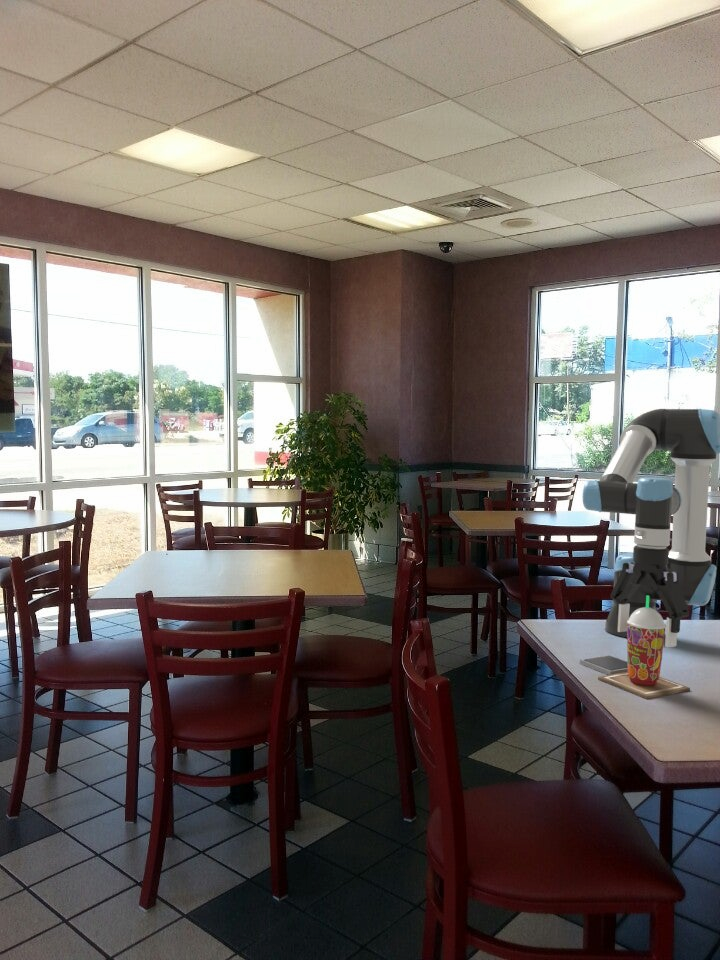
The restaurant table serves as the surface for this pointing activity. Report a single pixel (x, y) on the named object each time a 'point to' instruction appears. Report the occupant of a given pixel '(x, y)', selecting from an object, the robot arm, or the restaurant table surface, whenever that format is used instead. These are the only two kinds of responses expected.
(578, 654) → the restaurant table surface
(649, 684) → the smoothie
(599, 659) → the ink pad
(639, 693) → the board
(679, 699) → the restaurant table surface
